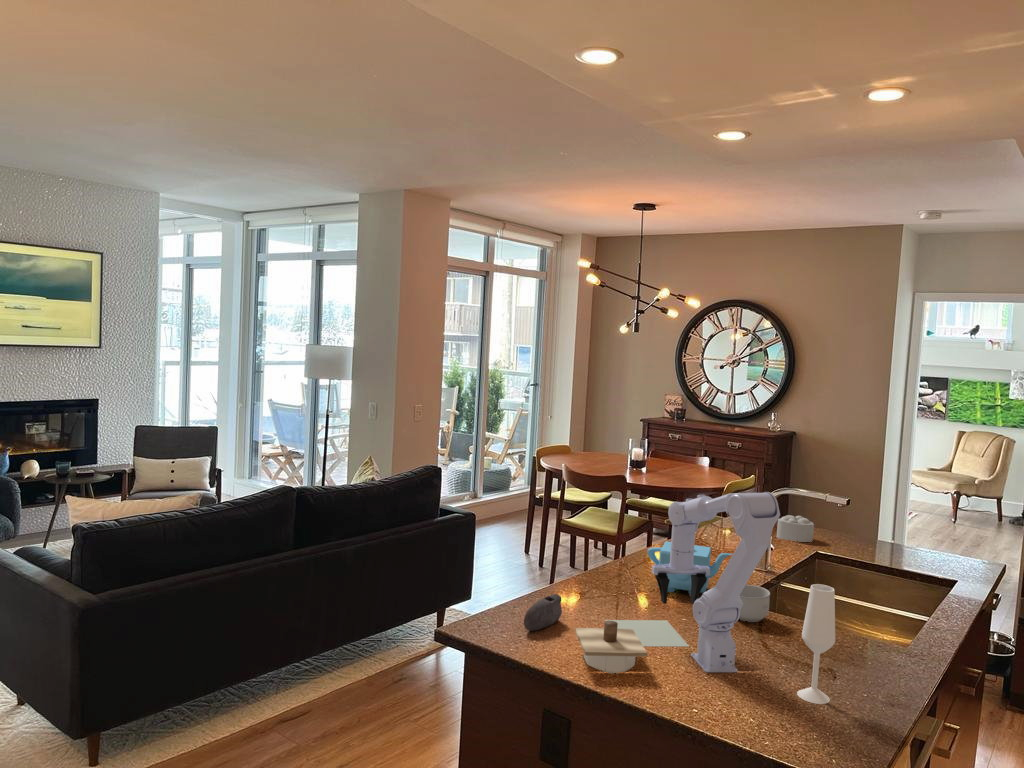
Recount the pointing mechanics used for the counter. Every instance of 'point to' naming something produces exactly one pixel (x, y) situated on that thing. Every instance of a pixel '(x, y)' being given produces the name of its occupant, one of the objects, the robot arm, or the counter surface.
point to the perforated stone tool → (543, 613)
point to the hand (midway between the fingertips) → (678, 602)
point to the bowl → (611, 663)
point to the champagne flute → (818, 635)
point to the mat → (653, 632)
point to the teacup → (754, 603)
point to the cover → (610, 641)
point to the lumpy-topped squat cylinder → (795, 529)
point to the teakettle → (700, 558)
